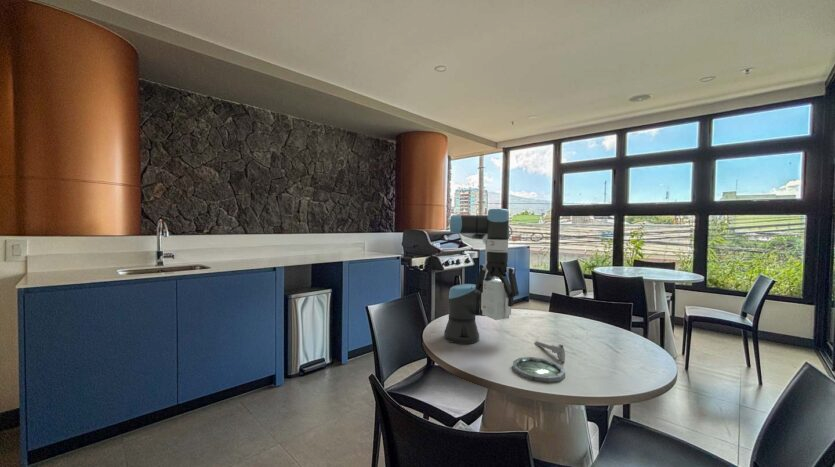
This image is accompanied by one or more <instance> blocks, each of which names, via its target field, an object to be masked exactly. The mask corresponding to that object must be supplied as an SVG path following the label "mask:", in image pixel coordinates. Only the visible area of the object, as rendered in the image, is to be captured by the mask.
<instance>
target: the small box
mask: <svg viewBox="0 0 835 467" xmlns="http://www.w3.org/2000/svg"><path fill="white" fill-rule="evenodd" d="M509 284H510V282H509ZM506 297H507V293H506V291H505V289H504V283H502V281H500V280H489V281H486V280H485V279H484V280H483V305H482V315H484V316H483V317H487V318H489V319H493V320H495V321H498V320H499V321H500V320H507V319H508V320H509V319H510V315H509V316H505V301H506Z"/></svg>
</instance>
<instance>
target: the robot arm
mask: <svg viewBox="0 0 835 467" xmlns="http://www.w3.org/2000/svg"><path fill="white" fill-rule="evenodd" d="M487 210H488V211H487V214H486V215H483V214H481V215H479V214H477V215H476V214H475V215H473V214H452V215H451V216H450V217H449V232H450V233H451V234H456V235H461V236H463V237H465V238H467V239H468V238H469V239H472V240H481V241H482V243H483V244H484V245H485V250H484V251H485V256H484V258H485V259H484V260H485V261H484V263H483V264H479V267H478V268H479V272H478V276H477V280H476V284H474V283H464V284H462V283H461V284H456V285H453V286H452V287H450V289H449V291H448V292H449V293H448V294H449V295H448V321H447V323H446V327H445V329H444V333H443V334H444V335H443V337H444V339H445V340H446V341H448V342H450V343H454V344H459V345H468V344H470V345H471V344H474V343H477V342H479V340H480V333H479V330H478V326H477V323H476V316H477V317H480V316H481V317H485V316H484V315H482V305H483V280H486V281H489V280H500V281H502V283H504V289H505V291H506V293H507V297H506V301H505V316H509V317H510V316H512V307H513V306H514V297H518V296H519V295H520V293H519V287H518V283H517V278H516V268H515V267H511V266H510V267H509V266H508V260H509V259H508V258H509V253H508V252H507V251H508V250H509V239H510V224H509V221H510V217H509V216H510V214H509V209H507V208H489V209H487ZM509 283H510V284H509Z"/></svg>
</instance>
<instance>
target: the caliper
mask: <svg viewBox="0 0 835 467" xmlns="http://www.w3.org/2000/svg"><path fill="white" fill-rule="evenodd" d="M533 344H535V345H537V346H538V347H541V348H545V349H548V350H551V352H552V353H553V354H556V355H557V360H558V361H560V362H561V363H564V362H565V360H566V358H565V357H566V352H565V348H564V344H558V345H554V344H548V343H546V342H542V341H539V340H536V341H534V343H533Z"/></svg>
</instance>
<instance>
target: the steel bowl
mask: <svg viewBox="0 0 835 467" xmlns="http://www.w3.org/2000/svg"><path fill="white" fill-rule="evenodd" d="M512 368H513V372H514V373H515V374H517V375H518V376H520V377H521V378H524V379H527V380H530V381H533V382H539V383H547V384H548V383H557V382H561V381H562V380H563V379H565V378H566V371H565V368H564V366H562V365H561V364H559V363H557V362H555V361H553V360H549V359H546V358H542V357H535V356H534V357H533V356H527V357H526V356H525V357H524V356H523V357H519V358H516V359H515V360H513V361H512Z"/></svg>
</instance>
